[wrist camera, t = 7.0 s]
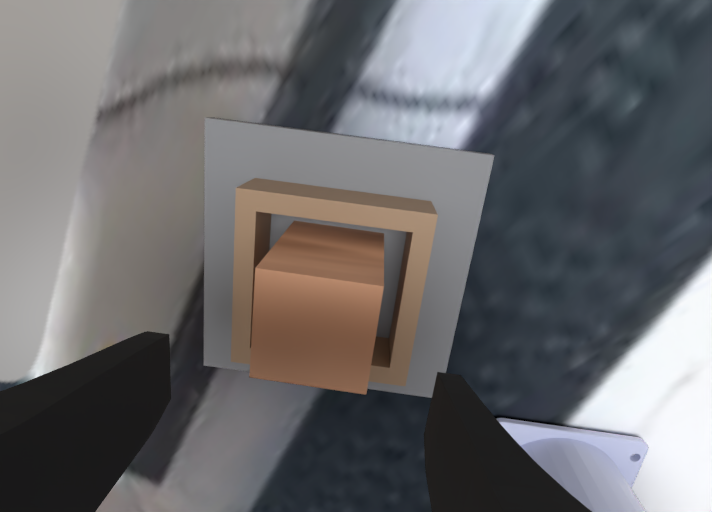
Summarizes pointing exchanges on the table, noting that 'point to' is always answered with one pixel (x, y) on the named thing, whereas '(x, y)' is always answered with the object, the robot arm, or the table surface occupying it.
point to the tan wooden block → (318, 307)
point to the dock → (348, 210)
